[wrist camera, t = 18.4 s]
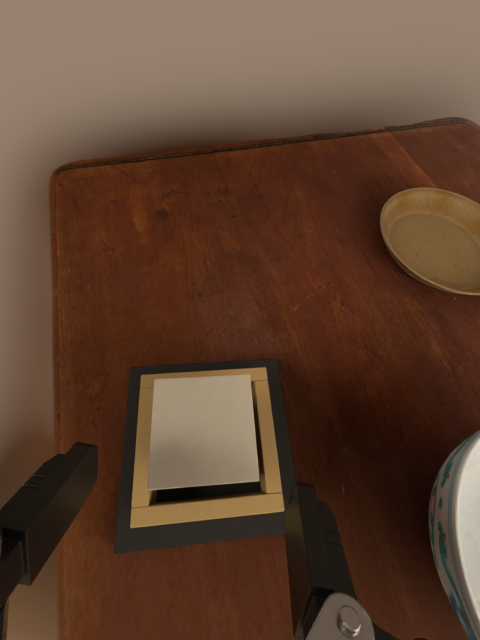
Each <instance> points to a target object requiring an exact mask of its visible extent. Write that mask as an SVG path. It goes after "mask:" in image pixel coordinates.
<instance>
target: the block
mask: <svg viewBox="0 0 480 640" xmlns="http://www.w3.org/2000/svg"><path fill="white" fill-rule="evenodd" d="M255 481H259V468H258V457H257V446H256V435H255V424H254V412H253V401H252V390H251V379H250V375H249V374H247V375H227V376H208V377H188V378H168V379H155V380H154V391H153V407H152V422H151V437H150V453H149V468H148V483H147V490H159V489H171V488H183V487H195V486H207V485H219V484H231V483H243V482H255Z"/></svg>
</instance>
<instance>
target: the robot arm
mask: <svg viewBox="0 0 480 640" xmlns="http://www.w3.org/2000/svg"><path fill="white" fill-rule="evenodd" d="M97 468H98V448H97V446H96V445H91V444H86V443H80V442H77V443H75V444H74V445H73V446H72V448H71V449H70V450H69V451H68V452H67V453H66V454H65V455H64V454H58V455H56V456H54V457H53V458H51V459H50V460H48V461H46V462H45V463H44V464H43V465H42V466H41V467H40V468H39V469H38V470H37V471H36V472H35V473H34V475H33V477H31V478H30V479H29V480H28V481H27V482H26V483H25V485H24V486H22V487H21V488H20V489H19V490H18V492H17V493H16V494H15V495H14V496H13V497H12V498H11V499H10V500H9V501H8V502H7V503H6V504H5V505H4V507H2V508H1V510H0V640H6V637H7V621H8V604H9V596H10V594H11V593H12V592H13V590H14V589H15V587H16V586H17V584H23V585H28V586H31V584H32V583H33V581H34V580H35V578H36V577H37V575H38V574H39V572H40V570H41V569H42V567H43V566H44V564H45V563H46V561H47V560H48V558H49V557H50V555H51V554H52V552H53V550H54V549H55V547H56V546H57V544H58V543H59V541H60V540H61V538H62V537H63V535H64V534H65V532H66V531H67V529H68V528H69V526H70V524H71V523H72V521H73V520H74V518H75V517H76V515H77V514H78V512H79V511H80V509H81V508H82V506H83V504H84V503H85V501H86V500H87V498H88V497H89V495H90V494H91V492H92V490H93V488H94V486H95V483H96V480H97ZM338 531H339V530H338V526H337V523H336V519H335V515H334V514H333V512H332V511H331V509H330V508H329V506H328V505H327V503H326V502H321V501H317V498H316V493H315V488H314V486H313V485H312V484H306V483H300V482H294V483H293V485H292V489H291V493H290V497H289V500H288V504H287V508H286V513H285V537H286V549H287V561H288V573H289V585H290V597H291V610H292V622H293V634H294V637H295V638H301V639H304V640H399V639H397V638H396V637H394V636H392V635H390V634H389V633H387V632H385V631H384V630H382V629H381V628H379V627H378V626H377V625H376V624H374V623H373V622H372V621H371V619H370V617H369V616H368V614H367V612H366V611H365V609H364V608H363V607H362V605H361V604H360V603H359V602H358V600H357V597H356V594H355V591H354V587H353V583H352V579H351V576H350V572H349V568H348V564H347V560H346V557H345V553H344V549H343V546H342V542H341V538H340V534H339V533H338ZM414 640H427V639H423V638H417V639H414Z"/></svg>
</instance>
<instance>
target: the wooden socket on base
mask: <svg viewBox="0 0 480 640" xmlns="http://www.w3.org/2000/svg"><path fill="white" fill-rule="evenodd" d="M247 374H249V375H250V379H251V390H252V401H253V412H254V424H255V435H256V446H257V457H258V468H259V481H255V482H243V483H231V484H219V485H207V486H195V487H183V488H171V489H159V490H147V483H148V468H149V453H150V437H151V422H152V407H153V391H154V380H155V379H168V378H188V377H208V376H227V375H247ZM294 482H296V481H295V474H294V468H293V461H292V454H291V448H290V441H289V434H288V428H287V421H286V414H285V408H284V401H283V394H282V388H281V381H280V375H279V368H278V361H277V359H262V360H245V361H228V362H211V363H194V364H177V365H160V366H143V367H131V369H130V380H129V391H128V402H127V413H126V424H125V435H124V446H123V457H122V468H121V479H120V490H119V501H118V512H117V523H116V534H115V545H114V553H115V554H116V553H124V552H133V551H141V550H150V549H159V548H167V547H176V546H184V545H193V544H201V543H210V542H218V541H227V540H235V539H244V538H252V537H261V536H269V535H278V534H285V513H286V508H287V504H288V500H289V497H290V493H291V489H292V485H293V483H294Z"/></svg>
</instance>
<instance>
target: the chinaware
mask: <svg viewBox="0 0 480 640" xmlns="http://www.w3.org/2000/svg"><path fill="white" fill-rule="evenodd" d="M429 534H430V542H431V547H432V552H433V557H434V561H435V564H436V568H437V571H438V574H439V577H440V580H441V583H442V585H443V588H444V590H445V593H446V595H447V598H448V600H449V602H450V604H451V606H452V608H453V610H454V612H455V614H456V616H457V618H458V620H459V622H460V624H461V626H462V627H463V629H464V631H465V633H466V634H467V636H468V638H469V639H470V640H480V430H478V431H476V432H475V433H473V434H472V435H470V436H469V437H468V438H466V439H465V440H464V441H463V442H462V443H460V444H459V445H458V446H457V447H456V448H455V449H454V450H453V452H452V453H451V454H450V455H449V456H448V458H447V459H446V460H445V462H444V463H443V465H442V467H441V468H440V470H439V472H438V475H437V477H436V479H435V482H434V485H433V488H432V492H431V497H430V504H429Z"/></svg>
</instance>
